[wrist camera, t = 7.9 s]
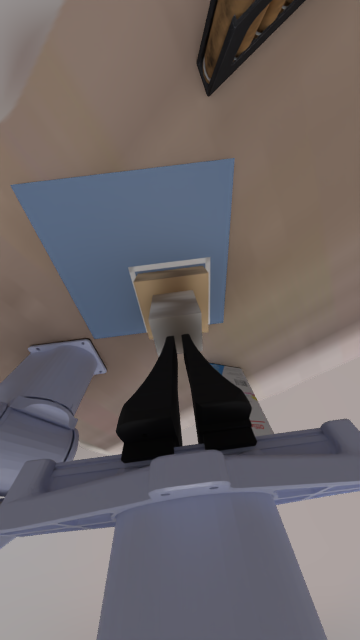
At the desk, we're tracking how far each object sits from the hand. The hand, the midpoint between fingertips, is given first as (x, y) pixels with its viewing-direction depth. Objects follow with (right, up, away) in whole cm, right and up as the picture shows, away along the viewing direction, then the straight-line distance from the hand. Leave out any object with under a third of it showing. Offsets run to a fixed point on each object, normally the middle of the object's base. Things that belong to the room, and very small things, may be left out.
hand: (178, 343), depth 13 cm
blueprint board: (-4, +8, +6) cm, 11 cm away
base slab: (-1, +5, +7) cm, 9 cm away
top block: (0, +3, +5) cm, 6 cm away
